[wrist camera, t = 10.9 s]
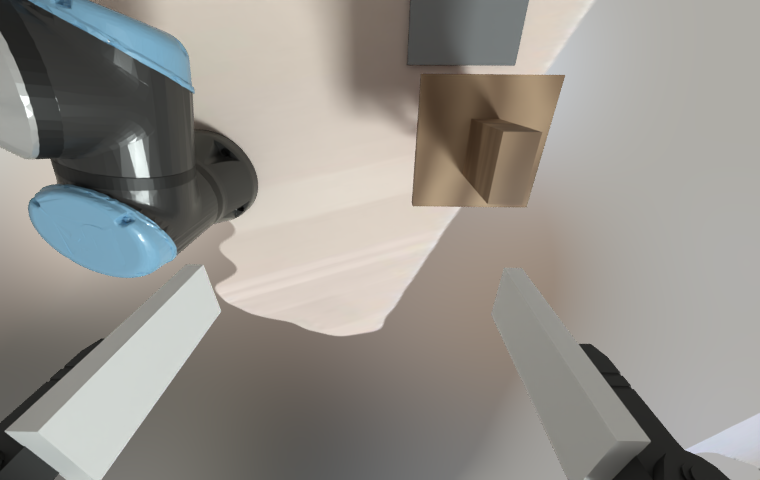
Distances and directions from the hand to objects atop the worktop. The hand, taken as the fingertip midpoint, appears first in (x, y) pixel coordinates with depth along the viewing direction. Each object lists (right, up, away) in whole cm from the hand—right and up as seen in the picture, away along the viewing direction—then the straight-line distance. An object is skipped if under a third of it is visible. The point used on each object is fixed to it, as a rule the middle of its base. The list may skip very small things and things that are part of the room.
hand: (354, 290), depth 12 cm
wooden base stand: (+12, +13, +19) cm, 26 cm away
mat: (+13, +34, +23) cm, 43 cm away
